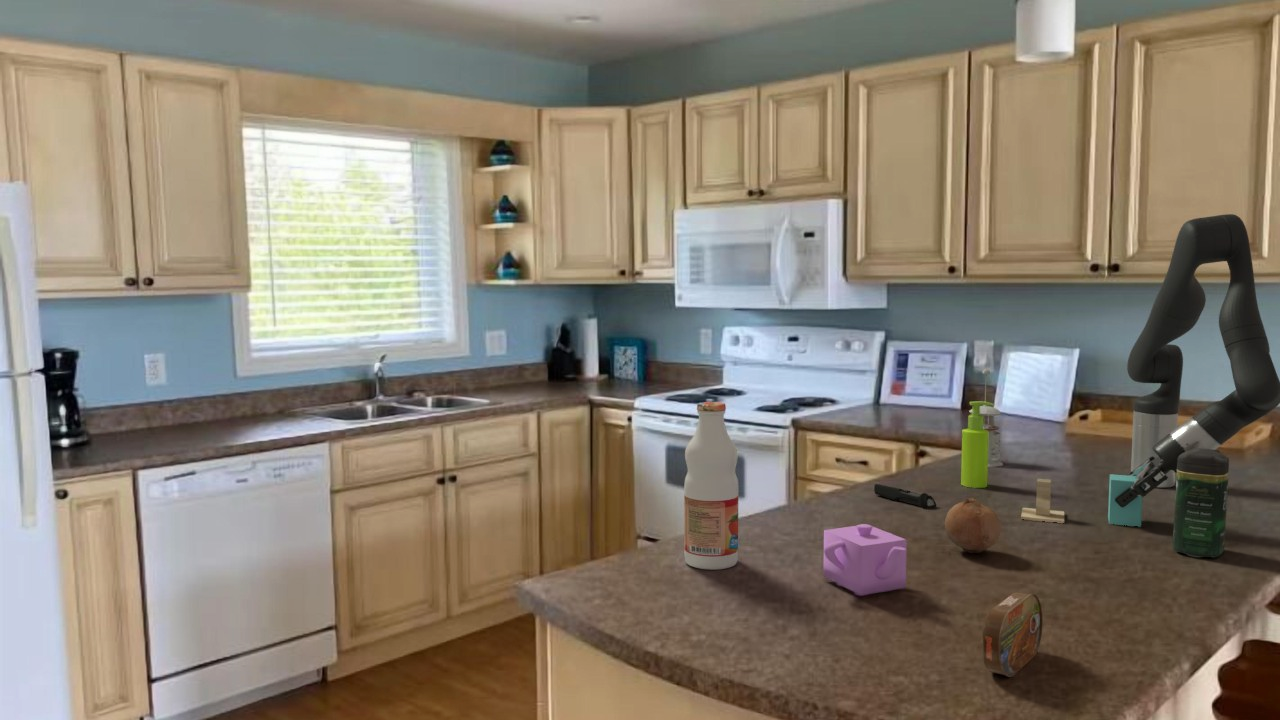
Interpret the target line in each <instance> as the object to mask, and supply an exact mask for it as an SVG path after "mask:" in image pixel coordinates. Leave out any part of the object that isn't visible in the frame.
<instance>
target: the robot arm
mask: <svg viewBox="0 0 1280 720" xmlns="http://www.w3.org/2000/svg"><path fill="white" fill-rule="evenodd" d="M1179 229H1180V230H1179V232H1178V234H1177V236H1176V240H1175V244H1174V247H1173V252H1172V255H1171V258H1170V262H1169V264H1168V265H1169V266H1168V268H1167V272H1166V274H1165V277H1164V280H1163V282H1162V284H1161V287H1160V289H1159V291H1158V293H1157V294H1156V297H1155V300H1154V303H1153V304H1152V307H1151V310H1150V313H1149V315H1148V319H1147V320H1146V323H1145V324H1144V327H1143V329H1142V330H1141V333H1140V335H1139V336H1138V338H1137V339H1136V341H1135V343H1134V344H1133V346H1132V348H1131V350H1130V353H1129V355H1128V359H1127V365H1126V366H1127V367H1126V369H1127V374H1128V376H1129V378H1130V379H1131V380H1132V381H1133V382H1135V383H1141V384H1160V386H1159V387H1158V388H1157V389H1156V390H1155V391H1153V392H1152V393H1150V394H1145V395H1144V396H1140V397H1137V398H1136V399H1134V402H1133V413H1132V414H1133V415H1132V416H1133V418H1132V437H1131V438H1132V439H1131V461H1130V463H1131V464H1130V471H1129V473H1128V476H1136V477H1135V479H1136V481H1135V482H1134V483H1133V484H1132V485H1130V487H1129V488H1128V489H1126V490H1125V491H1124V492H1122V493H1121V494H1120V495H1118V496H1117V497H1116V498H1115V502H1116V503H1117V504H1118V505H1119V506H1120V507H1125V506H1126V505H1128V504H1129V503H1130V502H1131V501H1133V500H1134V499H1135V498H1137V497H1138V496H1139V497H1140V496H1142V498H1143V497H1146V496H1147V495H1148V494H1149V493H1151V492H1152V491H1153V490H1154V489H1156V488H1171V487H1174V486H1176V475H1177V462H1178V460H1177V459H1178V457H1179V455H1181V454H1182V453H1184V452H1186V451H1189V450H1192V449H1194V448H1204V449H1213V450H1218V448H1219V447H1220V446H1222V445H1223V444H1224V443H1226V442H1227V441H1228V440H1230V439H1231V438H1233V437H1234V436H1236V434H1237V433H1239V431H1241V430H1242V429H1244V428H1245V427H1246V426H1249V425H1251V424H1252V423H1254V422H1256V421H1257V420H1259V419H1261V418H1262V417H1264V416H1265V415H1267V414H1269V413H1270V412H1271V411H1273V410H1275V409H1276V408H1277V407H1278V406H1279V405H1280V379H1279V376H1278V373H1277V371H1276V370H1277V369H1276V367H1275V364H1274V362H1273V360H1272V357H1271V354H1270V353H1271V350H1270V343H1269V340H1268V337H1267V333H1266V330H1265V327H1264V323H1263V320H1262V317H1261V314H1260V310H1259V309H1260V308H1259V305H1258V300H1257V293H1256V284H1255V275H1254V265H1253V259H1252V253H1251V252H1252V251H1251V245H1250V239H1249V234H1248V230H1247V228H1246V225H1245V223H1244V221H1243V220H1242V219H1241V217H1240V216H1238V215H1236V214H1233V213H1232V214H1231V213H1228V214H1220V215H1213V216H1206V217H1204V216H1203V217H1197V218H1193V219H1190V220H1189V219H1188V221H1186V222H1184V223H1183V224H1182V226H1181V227H1180V228H1179ZM1219 262H1220V263H1221V262H1226V263H1227V265H1228V270H1229V275H1230V276H1229V285H1228V289H1227V290H1226V293H1225V294H1226V295H1225V296H1224V299H1223V302H1222V304H1221V306H1220V307H1221V308H1220V310H1219V314H1218V327H1219V332H1220V335H1221V338H1222V342H1223V347H1224V348H1225V351H1226V354H1227V357H1228V359H1229V361H1230V362H1229V363H1230V368H1231V369H1230V370H1231V375H1232V379H1233V384H1234V387H1235V389H1234V390H1233V391H1232V392H1231V393H1229V394H1228V395H1226V396H1225V397H1224V398H1223V399H1221V400H1218V401H1213V402H1211V403H1210V404H1208V405H1206V406H1205V407H1204V408H1203V409H1201V410H1200V411H1198V412H1197V413H1196V414H1195V415H1194V416H1192V417H1191V418H1190V419H1188V420H1186V421H1185V422H1183V423H1181V424H1180V425H1178V424H1179V423H1178V421H1179V420H1178V418H1179V405H1180V400H1181V385H1182V377H1183V367H1184V356H1183V352H1182V348H1180V346H1178V345H1177V344H1170V343H1171V342H1173V341H1175V340H1177V339H1179V338H1181V337H1182V336H1184V335H1185V334H1187V333H1188V332H1190V331H1191V330H1192V329H1193V328H1194V326H1195V325H1196V324H1197V322H1198V321H1199V319H1200V317H1201V315H1202V312H1203V311H1204V309H1205V307H1206V302H1207V299H1206V293H1205V291H1204V288H1203V287H1202V285H1201V283H1200V282H1199V280H1198V279H1197V278H1196V276H1195V273H1196V271H1197V269H1198V268H1199V267H1200V266H1202V265H1206V264H1214V263H1219ZM1140 485H1142V486H1143V488H1142V487H1141V486H1140ZM1137 495H1138V496H1137Z"/></svg>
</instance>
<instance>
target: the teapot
mask: <svg viewBox="0 0 1280 720" xmlns="http://www.w3.org/2000/svg"><path fill="white" fill-rule="evenodd" d="M907 544H908V541H907V539H905V538H903V537H901V536H898V535H895V534H894V533H891V532H887V531H885V530H884V529H883V530H882V529H880V528H877V527H875V526H873V525H870V524H868V523H867V524H866V523H861V524H858V525H851V526H845V527H839V528H838V527H837V528H830V529H824V531H823V562H822V563H823V566H822V567H823V568H822V569H823V570H822V571H823V577H824V578H826V579H827V580H830V581H832V582H834V583H835V584H836V586H837V587H843V588H846V589H847V590H849V591H852V592H853V593H854V595H856V596H861V597H863V596H867V595H872V594H877V593H878V594H879V593H883V592H884V593H885V592H891V591H894V590H896V591H897V590H901V589H906V587H907V583H906V582H907V551H908V550H907V549H908V548H907V547H908V546H907Z"/></svg>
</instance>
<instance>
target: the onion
mask: <svg viewBox="0 0 1280 720" xmlns="http://www.w3.org/2000/svg"><path fill="white" fill-rule="evenodd" d="M944 527H945V532H946V535H947V537H948V538H949V540H951V541H950V542H951V543H953V544H955V546H957V547H958V548H961V549H962V551H963V552H966V553H968V554H969V553H970V554H977V553H982V551H984V550H987V549H989V548H991V547H993V546H994V545H995V544H997V542H998V540H999V538H1000V536H1001V533H1002V528H1001V522H1000V519H999V517H998V516H997V513H995V511H993V510H992V509H991V508H990V507H988V506H986V505H984V504H982V503H981V502H979V501H978V500H977V499H975V498H973V497H969V498H966V499H965V501H961V502H958V503H957V504H956V503H955V504H954V505H953V506H952V507H951V508H950V509H949V510H948V512H947V514H946V515H945V521H944Z"/></svg>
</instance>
